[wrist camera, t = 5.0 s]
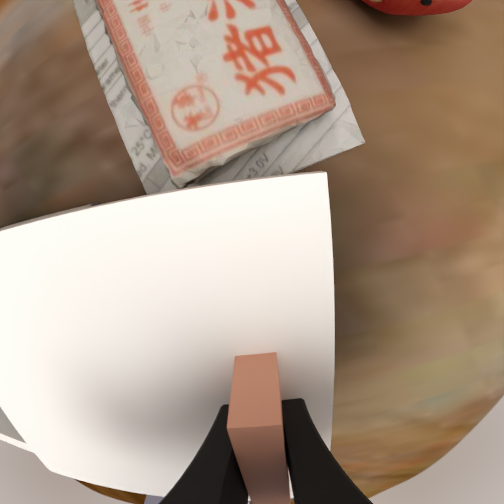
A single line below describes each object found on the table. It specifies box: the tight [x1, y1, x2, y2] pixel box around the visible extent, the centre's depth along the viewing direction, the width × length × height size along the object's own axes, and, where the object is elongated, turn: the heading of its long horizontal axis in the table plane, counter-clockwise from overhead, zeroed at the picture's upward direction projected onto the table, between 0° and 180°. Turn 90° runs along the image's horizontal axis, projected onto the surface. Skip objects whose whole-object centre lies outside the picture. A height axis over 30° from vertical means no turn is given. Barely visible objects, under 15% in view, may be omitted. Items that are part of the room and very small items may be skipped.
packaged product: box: [72, 0, 365, 195], centre depth 10 cm, size 18×5×10 cm
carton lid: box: [0, 171, 335, 504], centre depth 9 cm, size 15×17×3 cm
